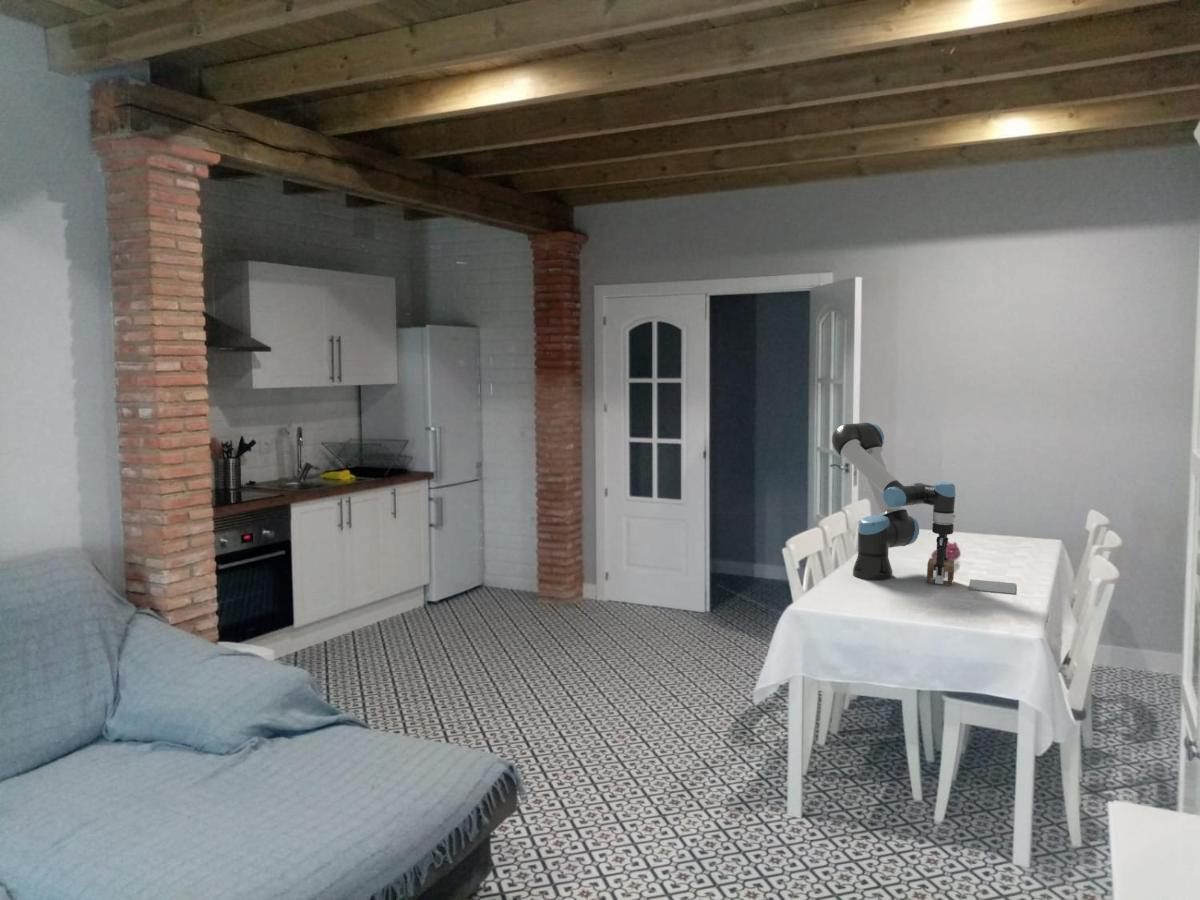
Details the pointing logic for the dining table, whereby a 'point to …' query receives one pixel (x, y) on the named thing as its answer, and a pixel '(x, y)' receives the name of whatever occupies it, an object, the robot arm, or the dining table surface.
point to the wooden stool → (947, 567)
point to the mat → (992, 586)
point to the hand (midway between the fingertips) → (940, 580)
